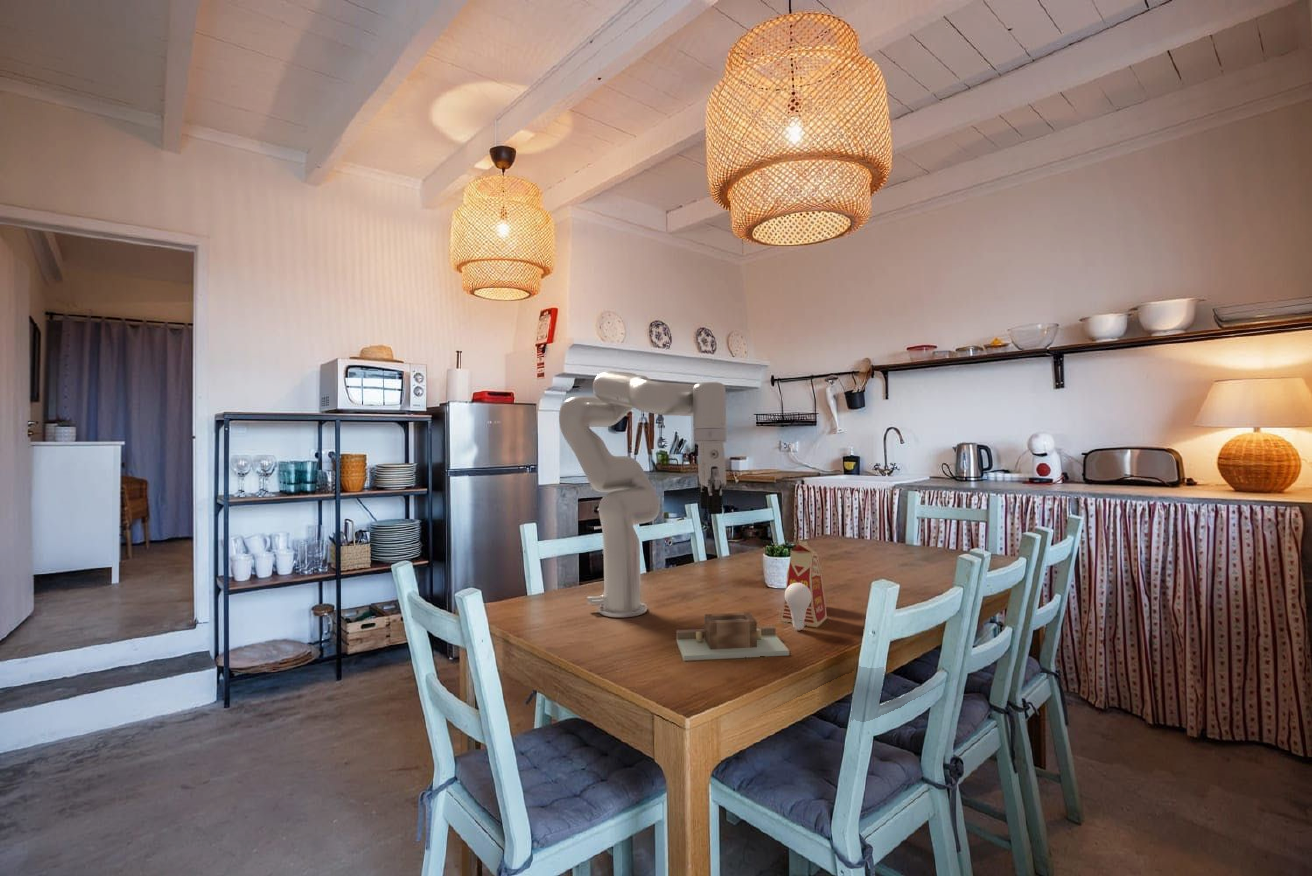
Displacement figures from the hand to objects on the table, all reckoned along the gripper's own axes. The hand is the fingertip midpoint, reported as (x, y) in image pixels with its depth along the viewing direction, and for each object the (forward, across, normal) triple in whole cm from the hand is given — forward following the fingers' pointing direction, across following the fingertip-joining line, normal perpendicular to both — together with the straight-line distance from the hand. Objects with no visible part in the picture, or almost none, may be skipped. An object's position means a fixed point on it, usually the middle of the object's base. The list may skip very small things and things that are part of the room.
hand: (711, 511), depth 143 cm
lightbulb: (+28, 0, -20) cm, 35 cm away
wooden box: (+27, -9, -2) cm, 29 cm away
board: (+28, -10, -2) cm, 30 cm away
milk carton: (+28, +8, -24) cm, 38 cm away
